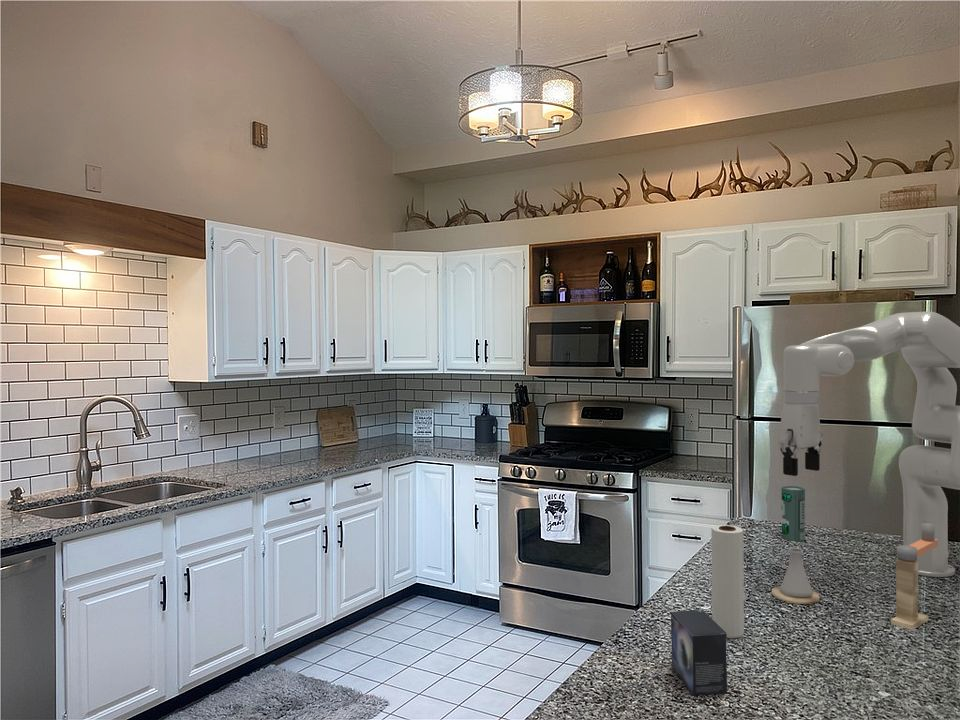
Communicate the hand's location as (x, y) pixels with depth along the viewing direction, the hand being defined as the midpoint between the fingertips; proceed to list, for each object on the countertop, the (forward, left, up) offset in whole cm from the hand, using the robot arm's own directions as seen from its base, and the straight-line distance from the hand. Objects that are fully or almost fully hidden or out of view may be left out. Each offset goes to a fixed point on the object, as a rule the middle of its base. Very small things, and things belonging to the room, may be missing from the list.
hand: (801, 472), depth 162 cm
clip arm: (-7, +22, -15) cm, 27 cm away
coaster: (+3, 0, -28) cm, 28 cm away
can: (-42, -25, -28) cm, 57 cm away
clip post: (-1, +22, -28) cm, 36 cm away
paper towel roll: (+32, +2, -28) cm, 43 cm away
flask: (+3, 0, -28) cm, 28 cm away
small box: (+54, +10, -29) cm, 62 cm away
